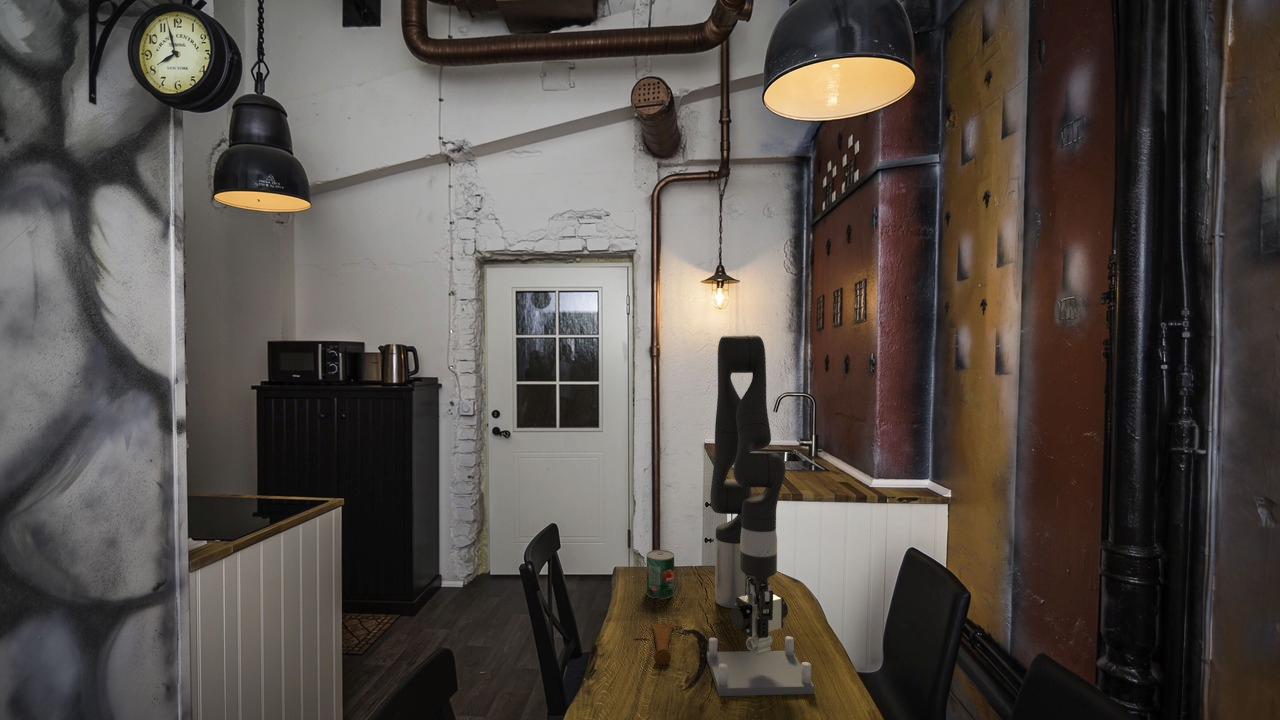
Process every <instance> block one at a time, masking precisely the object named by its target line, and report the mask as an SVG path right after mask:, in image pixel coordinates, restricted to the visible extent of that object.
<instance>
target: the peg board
mask: <svg viewBox="0 0 1280 720" xmlns="http://www.w3.org/2000/svg"><path fill="white" fill-rule="evenodd" d="M784 641H785V642H784V647H785V648H784V650H771V651H770V652H766V653H763V654H760V655H757V654H755V652H754V651H750V650H749V651H747V650H746V651H718V639H717V637H710V638H709V639H708V651H706V661H707V664H708V666H709V669H710V672H711V676H712V679H713V681H714V685H715V688H716V691H717V694H718V695H717V696H718V697H735V696H736V697H739V696H740V697H741V696H743V697H744V696H776V695H778V696H779V695H780V696H782V695H815V685H814V683H813V682H812V664H811V662H807V661H803V662H800V661H799V659H798V658H797V656H796V655H795V653H794V651H795V650H794V649H795V648H794V646H795V645H794V644H795V642H794V641H795V640H794V637H793V636H789V635H787V636H785V637H784Z"/></svg>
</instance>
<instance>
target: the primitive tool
mask: <svg viewBox="0 0 1280 720" xmlns="http://www.w3.org/2000/svg"><path fill="white" fill-rule="evenodd" d="M651 629H652V633H653V635H654V638H653V639H654V642H655V645H656V646H655V648H656V652H655V653H654V655H653V660H654V662H655V664H657V665H659V666H660V665H662V666H666V665H668V664H669V663H670V662H671V660H672V659H671V657H672V656H671V654H670V652H669V644H670V641H671V637H672V633H671V632H673V631H674V630H675V627H674V625H673V624H672V623H671V622H670V623H669V622H667V623H652V624H651ZM672 630H673V631H672Z"/></svg>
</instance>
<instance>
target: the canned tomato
mask: <svg viewBox="0 0 1280 720" xmlns="http://www.w3.org/2000/svg"><path fill="white" fill-rule="evenodd" d="M645 584H646V585H645V586H646V587H645V588H646V590H645V591H646V592H645V593H646V595H648V596H647V597H649V596H650V597H649V598H651V597H653V598H652V599H654V598H661V599H660V600H663V599H662V598H668V599H670V597H671V598H673V597H674V595H675V553H674V552H672V551H670V550H666V549H655V550H650V551H647V553H646V583H645Z"/></svg>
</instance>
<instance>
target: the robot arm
mask: <svg viewBox="0 0 1280 720" xmlns="http://www.w3.org/2000/svg"><path fill="white" fill-rule="evenodd" d="M766 359H767V358H766V349H765V343H764V340H763V339H762V337H760V335H757V334H756V335H753V334H749V335H748V334H730V335H729V334H728V335H722V336H721V337H720V338H719V341H718V347H717V399H716V401H717V402H716V410H715V411H716V413H715V424H714V458H713V459H714V461H713V470H712V477H711V485H710V494H709V495H710V497H709V498H710V499H709V500H710V507H711V509H712V512H714V513H715V514H723V515H736V516H735V517H734V518H733V519H731V520H730V521H727V522H723V523H721V524H720V525H718V526H717V527H716V528H715V560H714V561H715V562H714V563H715V568H714V569H715V574H714V575H715V578H714V580H715V581H714V582H715V584H714V585H715V587H714V588H715V591H714V592H715V593H714V594H715V595H714V597H715V598H714V599H715V600H714V601H715V603H716V604H717V605H719V606H721V607H724V608H728V609H732V608H734V606H735V603H736V598H738V597H742V596H746V594H749V595H751V594H752V600H753V603H754V604H758V605H757V606H756V607H757V615H756V617H757V636H758V637H759V638H767V637H768V634H769V633H768V621H769V620H772V619H773V595H774V594H773V593H774V591H773V590H771V585H770V582H769V580H768V579H769V578H770V577H773V576H774V575H776V574H777V572H778V536H777V535H778V534H777V507H778V502H779V501H778V500H779V498H780V493H781V490H782V487H783V484H784V481H785V476H786V465H785V461H784V459H783V458H782V456H781V455H780V454H778V453H772V452H771V453H769V452H768V453H767V452H765V453H761V452H759V453H758V452H756V453H755V451H759V450H763V449H765V448H767V447H768V446H770V444H771V441H772V432H771V427H770V420H769V415H768V408H767V407H768V405H767V404H768V403H767V360H766ZM746 373H747V374H751V373H752V376H751V377H752V378H751V381H750V384H749V386H748V387H747V390H746V391H745V393H744V394H743V396H742V397H740V396H739V394H738V392H737V390H736V388H735V386H734V383H733V381H732V378H731V377H732V374H746ZM732 467H733V477H734V479H733V478H729V479H728V478H727V476H728V474H729V473H730V471H731V469H732ZM752 488H765V489H764V491H763V492H762V493H760V494H758V495H755V496H753V495H752ZM756 600H759V602H757V601H756ZM764 609H765V610H766V613H763V610H764Z"/></svg>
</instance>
